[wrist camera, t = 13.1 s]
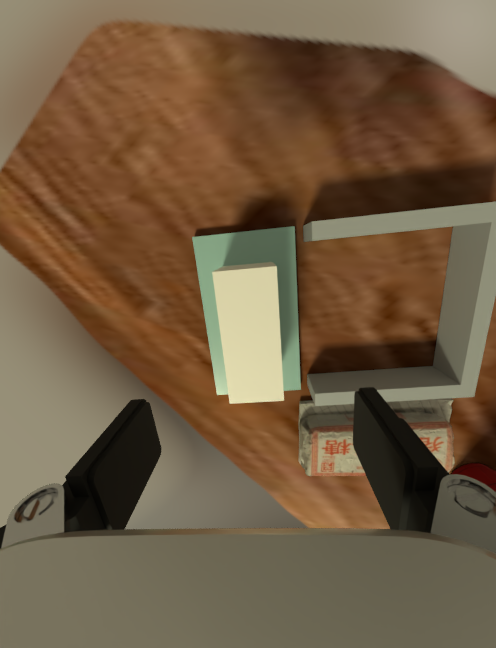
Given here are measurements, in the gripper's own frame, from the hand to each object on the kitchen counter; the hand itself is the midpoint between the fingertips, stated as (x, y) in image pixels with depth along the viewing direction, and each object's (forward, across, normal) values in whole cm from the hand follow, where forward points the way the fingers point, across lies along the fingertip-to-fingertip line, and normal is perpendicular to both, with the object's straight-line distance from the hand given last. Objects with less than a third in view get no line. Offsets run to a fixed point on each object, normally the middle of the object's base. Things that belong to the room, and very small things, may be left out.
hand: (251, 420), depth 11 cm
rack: (+17, -13, 0) cm, 21 cm away
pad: (+17, +1, 0) cm, 17 cm away
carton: (+16, +1, 0) cm, 16 cm away
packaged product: (+18, -13, +16) cm, 27 cm away
